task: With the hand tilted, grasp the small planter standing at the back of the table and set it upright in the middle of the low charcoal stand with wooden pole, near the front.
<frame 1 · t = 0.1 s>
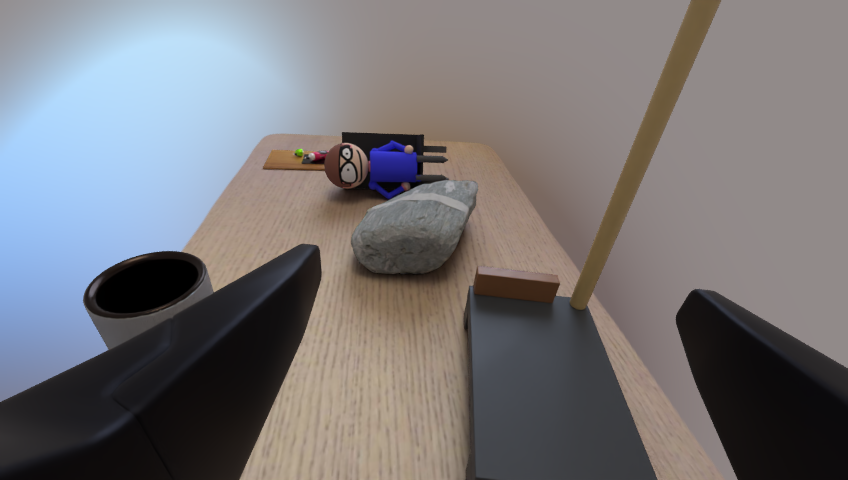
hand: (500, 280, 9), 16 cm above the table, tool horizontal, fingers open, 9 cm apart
character figurine: (387, 193, 48), on the table
stand with wooden pole: (531, 395, 25), on the table
board: (312, 162, 54), on the table
planter: (204, 416, 22), on the table
decorative stone: (419, 246, 39), on the table
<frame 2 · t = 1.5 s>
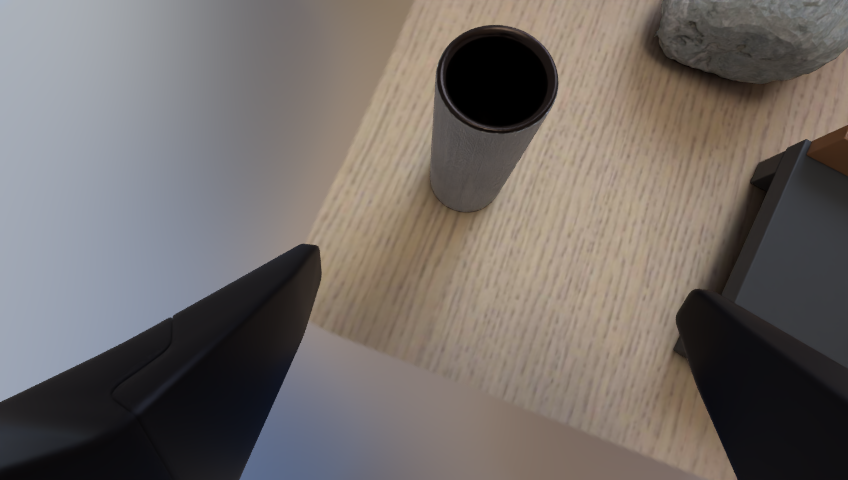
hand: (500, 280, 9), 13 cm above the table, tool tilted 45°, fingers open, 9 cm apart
stand with wooden pole: (788, 290, 23), on the table
planter: (465, 179, 24), on the table
decorative stone: (744, 27, 27), on the table
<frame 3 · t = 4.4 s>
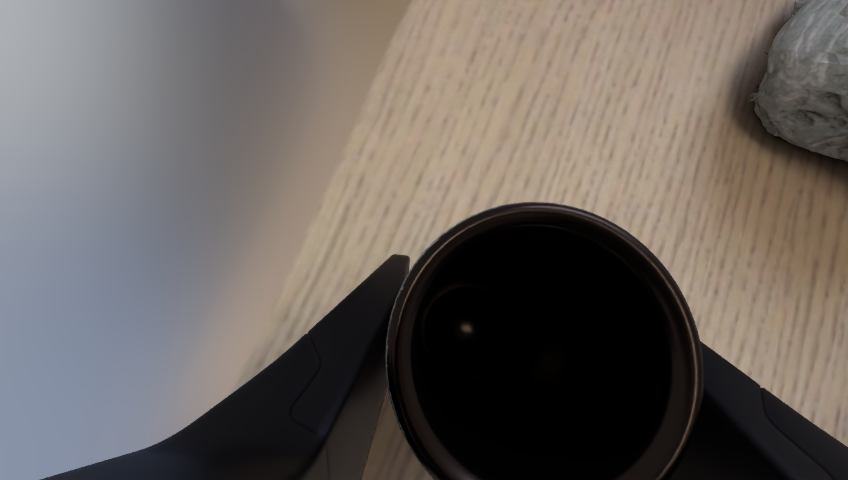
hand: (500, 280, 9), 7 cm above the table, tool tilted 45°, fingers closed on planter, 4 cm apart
planter: (463, 329, 16), on the table, touching gripper
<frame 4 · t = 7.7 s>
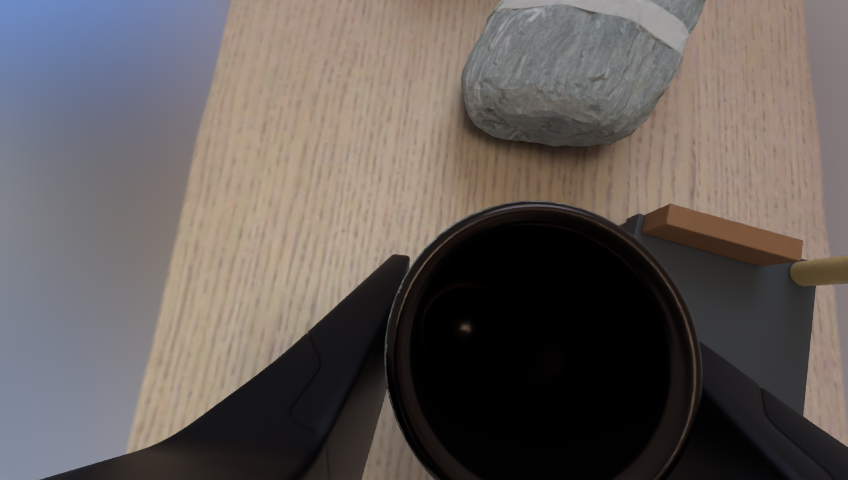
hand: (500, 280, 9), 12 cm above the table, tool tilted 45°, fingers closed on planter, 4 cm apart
stand with wooden pole: (666, 369, 21), on the table
planter: (463, 329, 16), point 6 cm above the table, touching gripper
decorative stone: (566, 75, 24), on the table
when the fingers open (10 cm above the table, at t = 10.8 s): planter stays where it is, resting on stand with wooden pole.
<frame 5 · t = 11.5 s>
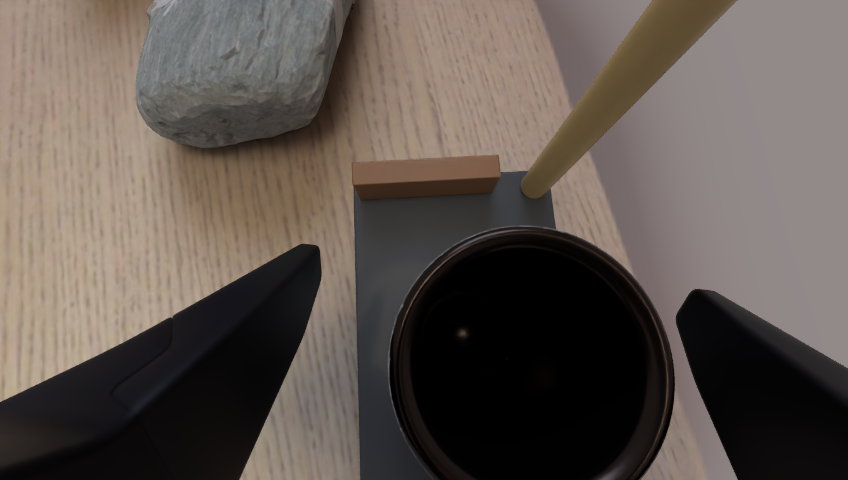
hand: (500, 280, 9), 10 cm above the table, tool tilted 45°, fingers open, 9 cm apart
stand with wooden pole: (457, 328, 19), on the table
planter: (462, 335, 16), point 3 cm above the table, touching stand with wooden pole
decorative stone: (282, 58, 22), on the table
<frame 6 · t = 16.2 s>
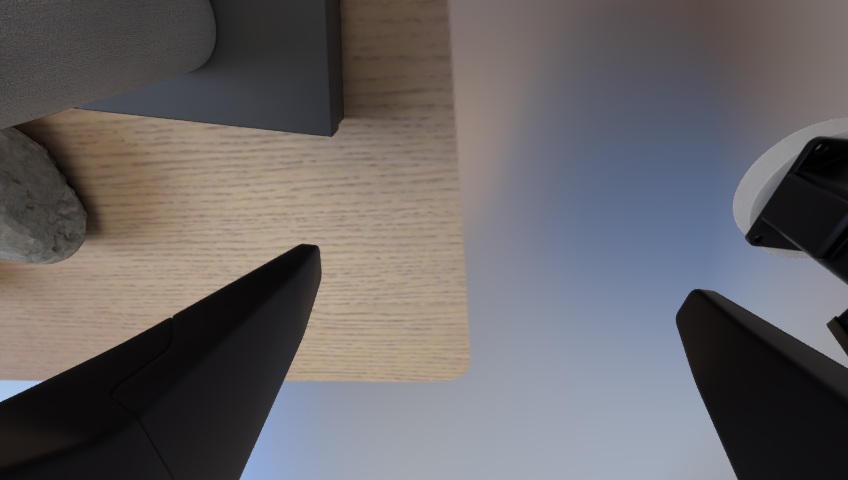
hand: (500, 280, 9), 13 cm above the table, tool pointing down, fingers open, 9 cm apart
stand with wooden pole: (200, 8, 18), on the table
planter: (166, 13, 16), point 3 cm above the table, touching stand with wooden pole
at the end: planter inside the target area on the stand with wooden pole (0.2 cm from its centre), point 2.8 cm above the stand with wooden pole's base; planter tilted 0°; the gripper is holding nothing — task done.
